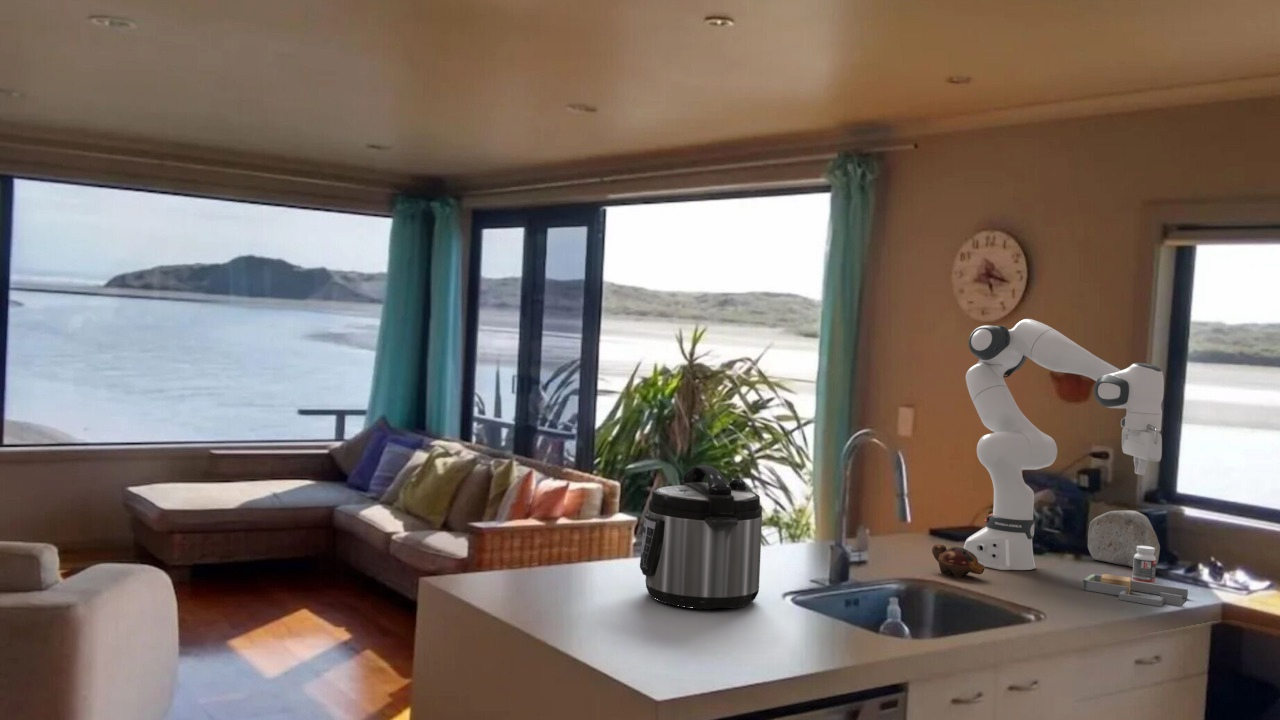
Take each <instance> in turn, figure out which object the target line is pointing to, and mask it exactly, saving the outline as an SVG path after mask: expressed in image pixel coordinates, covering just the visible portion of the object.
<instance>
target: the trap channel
mask: <svg viewBox="0 0 1280 720" xmlns="http://www.w3.org/2000/svg"><path fill="white" fill-rule="evenodd" d="M1102 575H1103V574H1097V573H1092V574H1090V575H1089V576H1087V577H1085V578H1084V579H1083V580H1082V590H1084V591H1088V592H1089V591H1090V592H1094V593H1096V592H1097V593H1101V594H1108V595H1113V596H1118V600H1119V599H1120V601H1126V602H1133V603H1136V604H1137V603H1138V604H1144V605H1150V606H1156V607H1161V606H1163V605H1164V604H1166V605H1173V606H1178V607H1181V606H1183V604H1184V603H1185V602H1187V600H1188V595H1189V594H1188V593H1189V589H1188V588H1183V587H1176V586H1171V585H1170V586H1169V585H1164V584H1159V583H1158V584H1157V583H1154V584H1152V583H1146V582H1140V581H1134V580H1132V579H1131V590H1130V591H1133V592H1139V593H1140V592H1141V593H1147V594H1153V595H1157V596H1158V595H1159V597H1158V598H1153V597H1152V598H1151V597H1145V596H1140V595H1139V596H1138V595H1133V594H1129V595H1128V594H1127V590H1128V587H1126V586H1120V585H1114V584H1108V583H1102V582H1101V577H1102Z"/></svg>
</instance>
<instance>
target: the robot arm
mask: <svg viewBox="0 0 1280 720" xmlns="http://www.w3.org/2000/svg"><path fill="white" fill-rule="evenodd" d="M968 347H969V351H970V352H971V354H973V356H974V357H976V358H977V359H978V361H977V362H976V364H974V365H972V366H971V367H970V368H969V369H968V370H967V372H966V373H965V382H966V387H967V391H968V393H969V396H970V399H971V401H972V403H973V405H974V408H975V410H976V412H977V415H978V416H979V419H980V420H981V423H982V424H983V426H984V427H985V428H986V429H988V430H990V431H992V432H991V433H987V434H984V435H982V436H981V437H980V439H979V440H978V442H977V445H976V456H977V459H978V461H979V462H980V464H981V465H983V467H985V469H986V470H987V472H988V473H989V476H990V478H991V481H992V487H993V506H992V507H993V508H992V509H993V510H992V513H990V514H988V515H987V516H986V517H985V518H984V522H985V526H984V527H983V528H981V529H980V530H978V531H976V532H975V533H973V534H972V535H970V536H969V537H967V538H966V540H965V542H964V545H963V548H964V549H966V550H968V551H970V552H972V553H973V554H974V555H975V556H976V557H977V559H978V563H980V564H982V565H984V567H985V568H989V569H990V568H991V569H995V570H1000V571H1011V570H1012V571H1029V570H1034V569H1036V568H1037V567H1036V564H1035V559H1034V551H1033V549H1034V548H1033V538H1034V535H1035V519H1034V506H1035V505H1034V504H1035V493H1034V492H1035V491H1034V490H1033V489H1032V488H1031V487H1030V486H1029V485H1028V484H1027V483H1026V482H1025V480H1024V477H1023V471H1025V470H1027V471H1028V470H1030V471H1032V470H1033V471H1034V470H1041V469H1044V468H1046V467H1047V468H1048V467H1050V466H1052V465H1053V464H1054V463H1055V461H1056V459H1057V457H1058V446H1057V444H1056V441H1055V439H1053V437H1051V436H1050V435H1048V434H1046V433H1045V432H1043V431H1042V430H1040V428H1038V427H1037V426H1035V425H1034V424H1033V423H1032V422H1031V421H1030V420H1029V419H1028V418H1027V417H1026V415H1025V414H1024V413H1023V412H1022V411H1021V409H1020V408H1019V406H1018V405H1017V403H1016V401H1015V398H1014V397H1013V395H1012V393H1011V390H1010V389H1009V387H1008V385H1007V383H1006V381H1005V379H1004V378H1009V377H1010V376H1012V374H1013V373H1015V372H1017V371H1018V370H1020V369H1021V368H1022V367H1023V365H1024V364H1025V363H1026V360H1027V358H1028V359H1029V360H1031V361H1032V362H1033V363H1035V364H1036V365H1038V366H1040V367H1043V368H1045V369H1046V370H1049V371H1052V372H1057V373H1066V374H1074V375H1080V376H1084V377H1088V378H1090V379H1092V380H1093V381H1095V383H1094V387H1093V396H1094V398H1095V400H1096V402H1097V403H1098V404H1099V405H1100V406H1102V407H1105V408H1109V409H1125V410H1126V413H1125V414H1126V415H1125V416H1124V417H1123V418H1122V419H1121V420H1120V427H1121V428H1122V431H1121V448H1122V449H1121V450H1122V453H1123V454H1125V455H1128V456H1131V457H1133V464H1134V474H1136V475H1138V476H1145V475H1146V471H1147V470H1146V469H1147V467H1148V465H1149V462H1157V463H1158V462H1161V460H1162V455H1163V454H1162V453H1163V452H1162V451H1163V439H1162V438H1163V437H1162V434H1161V433H1160V432H1161V430H1162V419H1163V418H1162V417H1163V411H1162V402H1163V399H1164V391H1165V390H1164V388H1165V385H1164V384H1165V382H1164V373H1163V370H1162V368H1160V367H1158V366H1156V365H1154V364H1150V363H1144V362H1134V363H1132V364H1131V365H1130V366H1128V367H1127V368H1125V369H1122V368H1119V367H1118V366H1116V365H1114V364H1112V363H1110V362H1108V361H1106V360H1104V359H1103V358H1101V357H1099V356H1097V355H1095V354H1093V353H1092V352H1090V351H1089V350H1087V349H1085V348H1084V347H1082V346H1081V345H1079V344H1078V343H1076V342H1075V341H1073V340H1072V339H1070V338H1068V337H1067V336H1065V335H1064V334H1063V333H1061V332H1060V331H1058V330H1057V329H1054V328H1053V327H1051V326H1049V325H1047V324H1045V323H1043V322H1040V321H1039V320H1038V321H1037V320H1035V319H1032V318H1024V319H1022V320H1020V321H1019V322H1017V323H1016V324H1015V325H1014V326H1013V327H1012V328H1011V329H1008V328H1007V326H1005V325H988V324H987V325H980V326H978V327H976V328H975V329H974V330H973V331H972V332H971V334H970V336H969V338H968Z"/></svg>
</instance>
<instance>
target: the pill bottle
mask: <svg viewBox="0 0 1280 720" xmlns="http://www.w3.org/2000/svg"><path fill="white" fill-rule="evenodd" d="M1136 550H1137V554H1135V555H1134V563H1133V567H1132V576H1131V580H1134V581H1140V582H1146V583H1152V584H1155V581H1156V567H1157V566H1156V565H1157V564H1156V557H1155V556H1154V553H1155V548H1153V547H1149V546H1137V549H1136Z"/></svg>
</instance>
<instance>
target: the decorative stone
mask: <svg viewBox="0 0 1280 720" xmlns="http://www.w3.org/2000/svg"><path fill="white" fill-rule="evenodd" d="M1088 526H1089V527H1088V533H1087V549H1088V551H1089V554H1090V556H1091V557H1092V558H1093V559H1094V560H1095V561H1100V562H1103V563H1104V562H1105V563H1111V564H1115V565H1120V566H1127V567H1130V568H1133V563H1134V555H1135V554H1137V550H1136V549H1137V546H1149V547H1153V548H1155V553H1154V556H1155V557H1156V565H1158V562H1159V558H1160V550H1161V546H1160V543H1159V539H1158V536H1157V534H1156V531H1155V530H1154V527H1153V525H1152V523H1151V521H1150V520H1149V518H1148V516H1147V515H1144V514H1143V513H1141V512H1139V511H1137V510H1128V509H1127V510H1110V511H1108V512H1104V513H1103V514H1100V515H1098V516H1096V517H1095V518H1093V519H1092V520H1091V521H1090V523H1089V525H1088Z"/></svg>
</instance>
